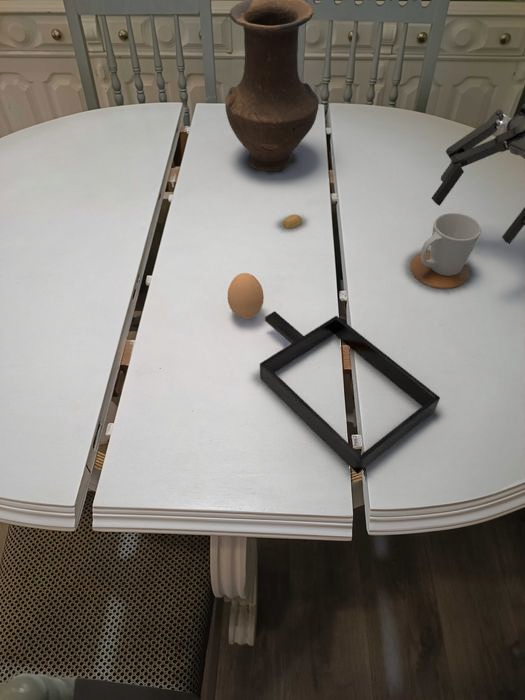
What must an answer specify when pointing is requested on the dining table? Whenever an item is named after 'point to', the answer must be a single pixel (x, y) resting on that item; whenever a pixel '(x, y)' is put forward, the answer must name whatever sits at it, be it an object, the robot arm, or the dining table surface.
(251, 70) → the vase
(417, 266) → the coaster
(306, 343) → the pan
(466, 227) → the cup
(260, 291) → the egg
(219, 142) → the dining table surface
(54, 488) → the dining table surface
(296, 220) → the potato
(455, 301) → the dining table surface
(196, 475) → the dining table surface
